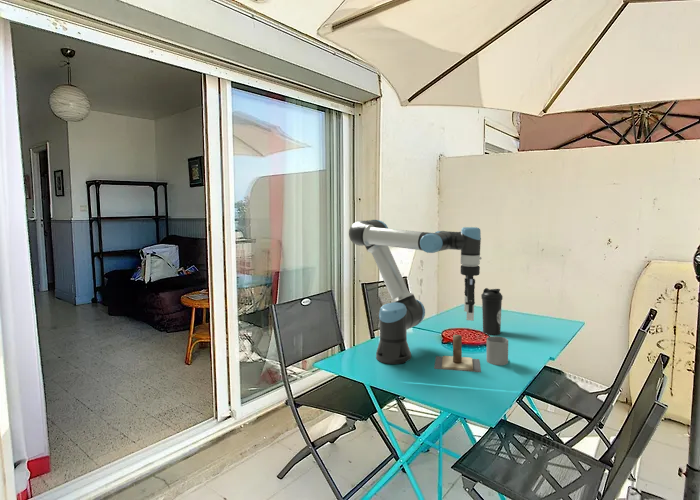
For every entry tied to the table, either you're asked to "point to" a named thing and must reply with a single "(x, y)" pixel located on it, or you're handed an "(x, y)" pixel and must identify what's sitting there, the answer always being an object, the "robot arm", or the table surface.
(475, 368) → the mat
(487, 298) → the water bottle
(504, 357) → the cup
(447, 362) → the lid
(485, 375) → the table surface
